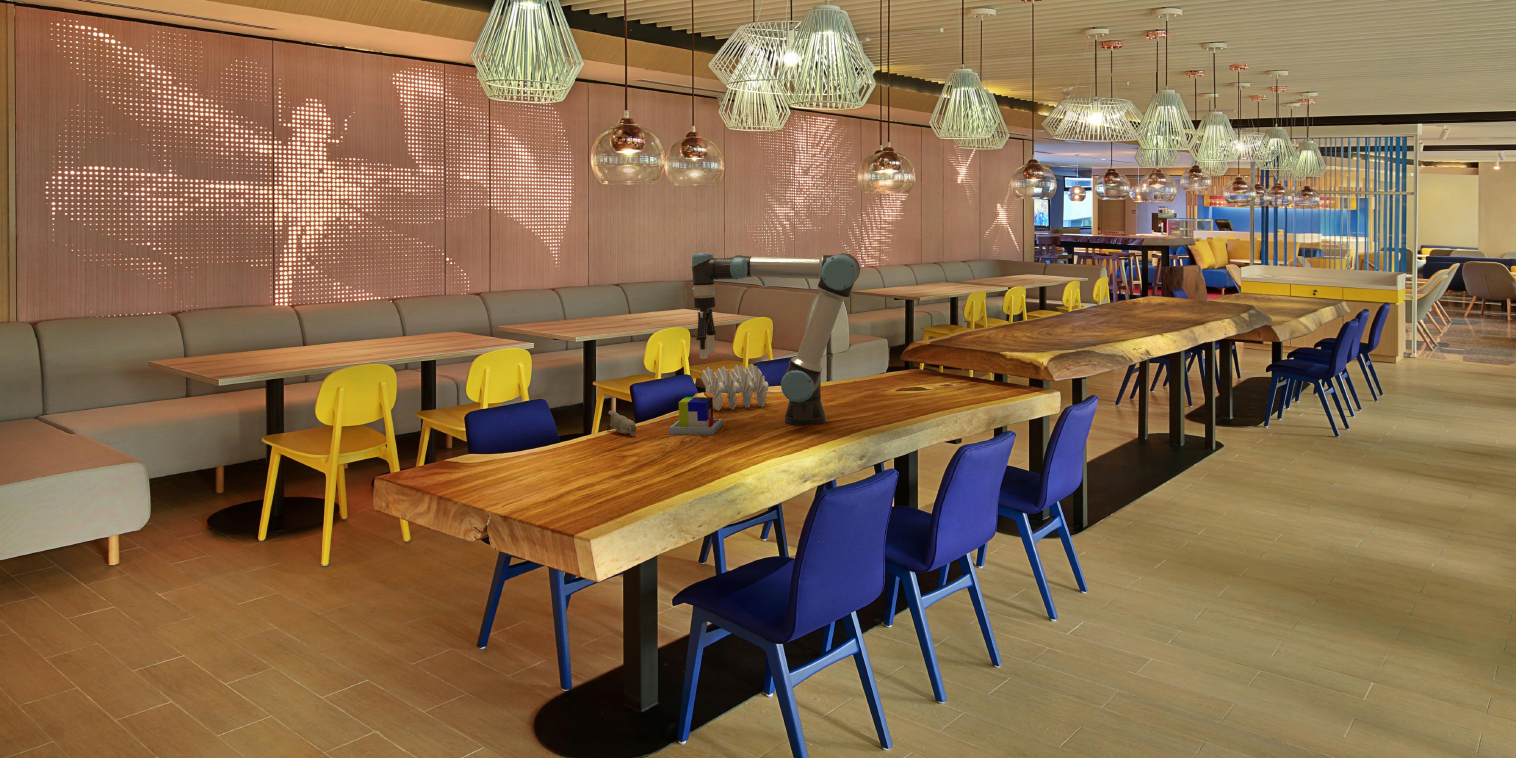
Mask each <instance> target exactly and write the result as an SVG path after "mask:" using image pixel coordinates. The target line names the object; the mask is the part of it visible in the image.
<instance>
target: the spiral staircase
mask: <svg viewBox="0 0 1516 758" xmlns="http://www.w3.org/2000/svg"><path fill="white" fill-rule="evenodd" d="M765 378H766V377H765V375H763V373H762V371H761V369H760V368H758V365H753V363H750V364H749V367H747V366H746V367H745V368H743V366H742V365H740V366H738V363H737V364H735V366H734V368H731V369H728V368H725V366H724V365H723V366H722V367H721V368H719V367H718V368H717V371H716V372H715V370H714V369H712V368H710V367H709V366H706V369H703V370H702V373H701V380H702V382H703V385H704V387H705V393H706V394H708V395H709V394H712V397H713V406H714V410H715V411H716V410H717V411H718V412H720V410H721V408H722V405H723V404H722V403H723V396H722V394H727V399H726V402H727V403H728V409H731V411H734V410H735V409H736V407H737V401H738V396H737V393H741V396H742V401H741V402H742V403H743V404H744V409H745V408H749V409H750V406H751V404H752V402H753V401H752V399H753V393H755V394H756V396H755V397H756V398H755V401H756V402H757V403H758V404H757V405H758V407H761V408H764V407H765V404H766V403H767V393H768V391H769V383H768V381H766V379H765Z"/></svg>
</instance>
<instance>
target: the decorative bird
mask: <svg viewBox="0 0 1516 758" xmlns="http://www.w3.org/2000/svg"><path fill="white" fill-rule="evenodd" d="M607 413H608V414H609V415H610V425H609V424H607V429H606V432H608V431H609V432H610V430H611V431H612V428H611V427H613V430H615V431H616V432H617V433H619V434H624V435H628V434H629V435H631V437H633V438H635V437H636V434H637V426H636V422H634V421H633V420H631V419H630V418H628V417H627V416H625V415H621V414H619V413H618V412H616V411H615V410H609V411H608V412H607Z"/></svg>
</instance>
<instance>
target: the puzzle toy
mask: <svg viewBox="0 0 1516 758" xmlns="http://www.w3.org/2000/svg"><path fill="white" fill-rule="evenodd" d="M713 419H714V404H713V396H712V397H710V396H709V397H705V396H704V397H703V396H685V397H684V398H682V399H681V400H680V401H678V420H679V427H704V428H710V427H711V426H712V425H713Z"/></svg>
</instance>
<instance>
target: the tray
mask: <svg viewBox="0 0 1516 758" xmlns="http://www.w3.org/2000/svg"><path fill="white" fill-rule="evenodd" d="M723 426H724V419H723V418H713V425H712V426H711V427H710V428H704V427H679V419H677V420H676V421H675V422H674V423H673V424H672V425H670V426H669V427H668V435H692V436H693V435H695V436H702V435H703V436H714V435H716V433H717V432H718V431H719V430H721V428H723Z"/></svg>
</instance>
